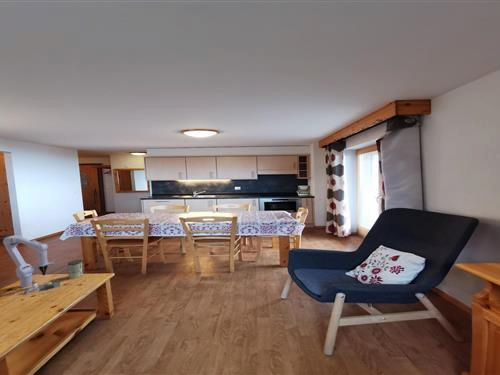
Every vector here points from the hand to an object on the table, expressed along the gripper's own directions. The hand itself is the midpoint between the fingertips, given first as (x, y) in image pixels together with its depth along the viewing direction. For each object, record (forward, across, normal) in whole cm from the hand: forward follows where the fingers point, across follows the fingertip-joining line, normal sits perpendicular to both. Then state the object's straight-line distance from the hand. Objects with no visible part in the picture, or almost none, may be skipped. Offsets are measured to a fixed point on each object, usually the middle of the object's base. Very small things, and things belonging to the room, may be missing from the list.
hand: (44, 275), depth 199 cm
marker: (+8, -6, -8) cm, 13 cm away
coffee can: (+10, +21, +4) cm, 23 cm away
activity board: (+9, -1, -4) cm, 10 cm away
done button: (+6, +3, -9) cm, 11 cm away
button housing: (+9, +3, -9) cm, 13 cm away
